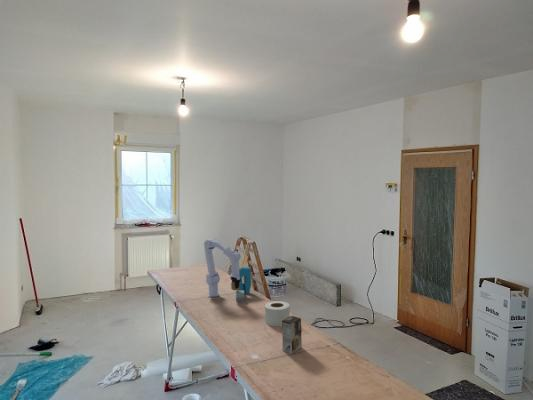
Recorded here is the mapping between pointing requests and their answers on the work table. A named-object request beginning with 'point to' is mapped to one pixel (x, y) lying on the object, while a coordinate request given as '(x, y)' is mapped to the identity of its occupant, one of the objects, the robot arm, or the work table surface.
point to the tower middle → (240, 294)
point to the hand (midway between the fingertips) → (235, 287)
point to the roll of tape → (276, 313)
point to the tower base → (240, 299)
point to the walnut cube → (234, 286)
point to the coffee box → (291, 334)
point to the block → (245, 279)
